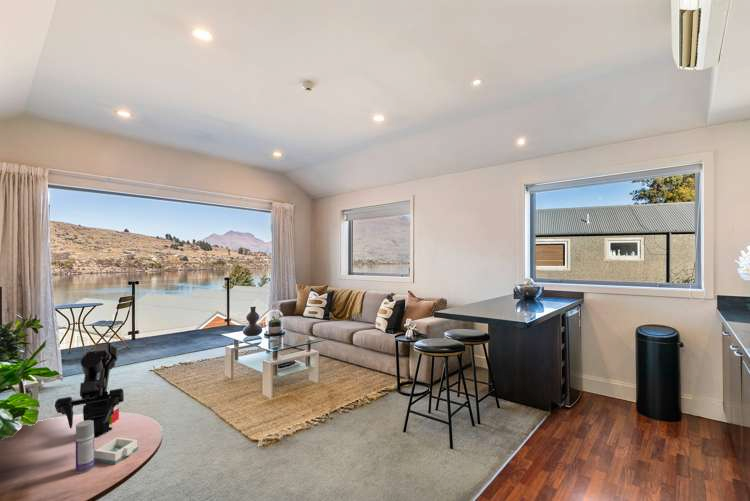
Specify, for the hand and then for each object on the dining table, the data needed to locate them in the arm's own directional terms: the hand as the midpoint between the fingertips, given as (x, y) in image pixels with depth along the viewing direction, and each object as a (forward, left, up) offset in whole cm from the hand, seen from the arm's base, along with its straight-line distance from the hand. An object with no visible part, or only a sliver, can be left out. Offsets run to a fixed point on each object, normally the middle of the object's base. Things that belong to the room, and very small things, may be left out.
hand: (88, 424), depth 121 cm
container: (+4, -4, -12) cm, 14 cm away
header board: (+7, +4, -12) cm, 15 cm away
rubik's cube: (-18, +24, -13) cm, 33 cm away
